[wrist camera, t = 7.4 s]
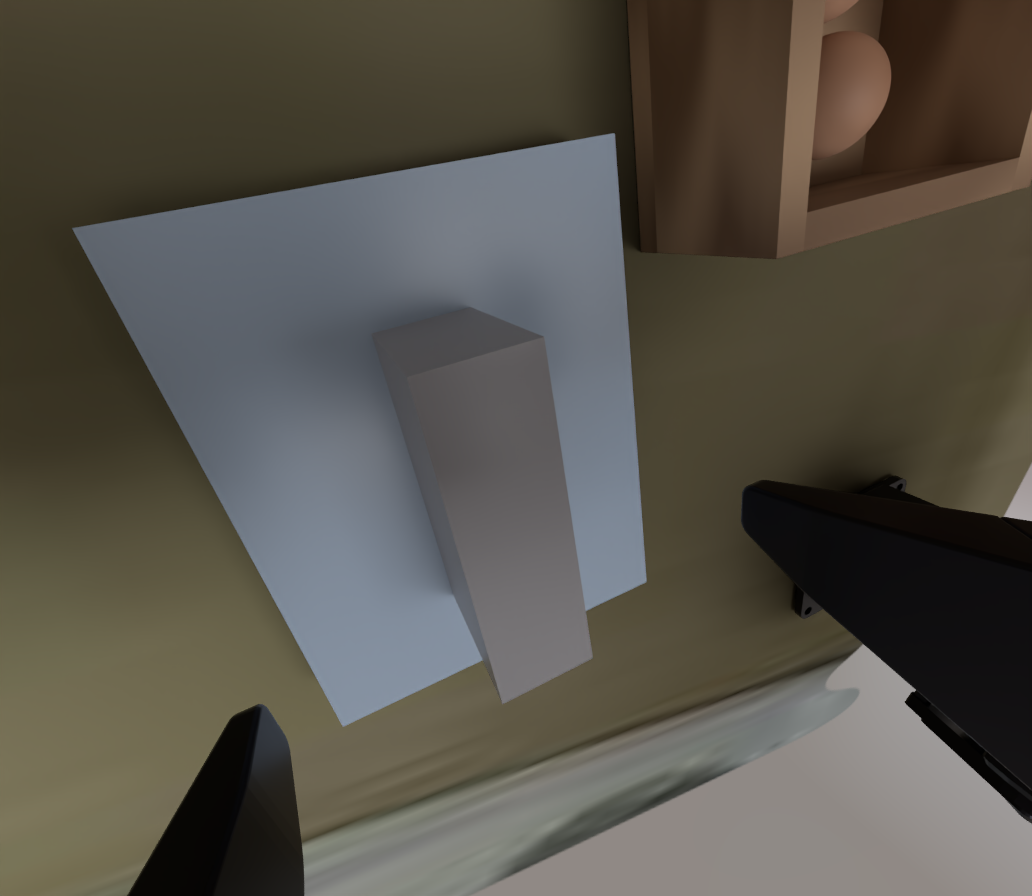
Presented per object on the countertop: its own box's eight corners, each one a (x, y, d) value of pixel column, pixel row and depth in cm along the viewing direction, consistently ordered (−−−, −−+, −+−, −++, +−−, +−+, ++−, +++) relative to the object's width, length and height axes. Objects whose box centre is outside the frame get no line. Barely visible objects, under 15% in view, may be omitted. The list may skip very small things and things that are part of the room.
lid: (615, 551, 20) (729, 662, 15) (337, 676, 17) (358, 871, 12) (573, 145, 13) (749, 90, 8) (108, 229, 10) (-73, 223, 5)
